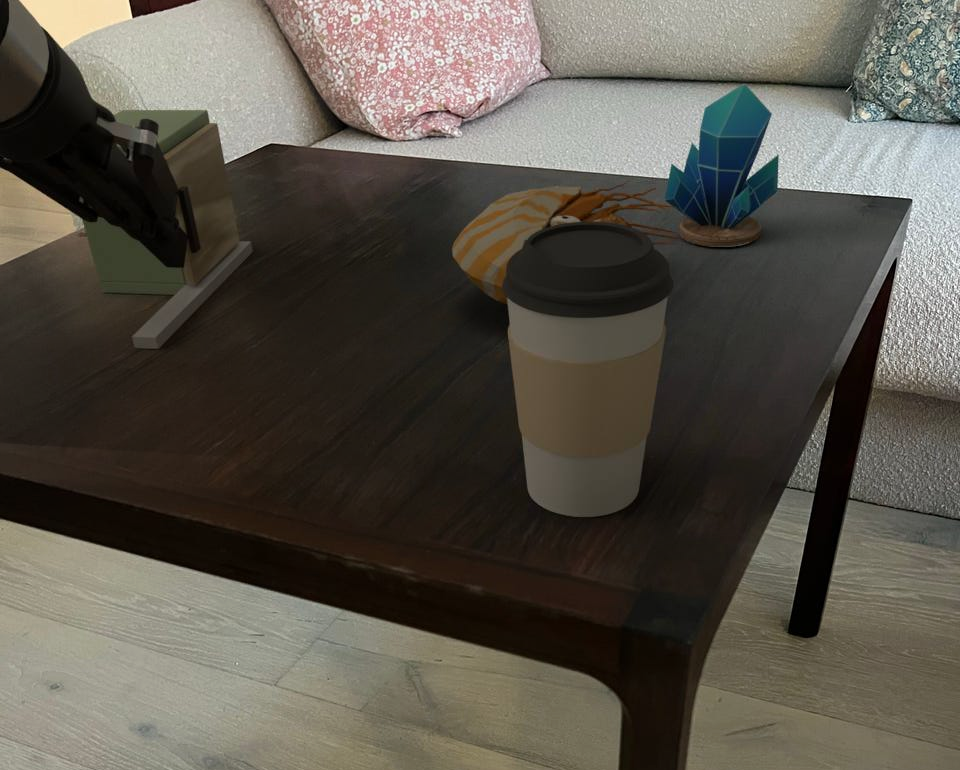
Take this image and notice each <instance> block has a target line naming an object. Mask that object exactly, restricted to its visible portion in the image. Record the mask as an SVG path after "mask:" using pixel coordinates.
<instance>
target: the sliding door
mask: <svg viewBox="0 0 960 770" xmlns="http://www.w3.org/2000/svg"><path fill="white" fill-rule="evenodd" d="M163 156H164V158H165V160H166V162H167V164H168V167H169V169H170V171H171V173H172V176H173V178H174V180H175V182H176V185H177V187H178V189H179V193H178V200H177V208H176V215H175V217H176V218H177V219H178V220H179V227H180V228H181V229H182V230H183V231H184V232H185V233H186V234H187V235H188V241H187V248H186V256H185V263H184V268H183V271H184V275H185V280H186V284H189V285H195V284H196V283H197V282H198V281H199V280H200V279H201V278H202V277H203V276H205V275H206V274H207V273H208V272H209V271H210V270H211V269H212V268H213V267H214V266H215V265H216V264H217V263H218V262H219V261H220V260H221V259H222V258H223V257H224V256H225V255H226V254H227V253H228V252H229V251H230V250H231V249H232V248H233V247H234V246H235V245H236V244H237V243H238V242H239V241H240V236H239V231H238V225H237V221H236V215H235V209H234V204H233V199H232V193H231V189H230V183H229V179H228V172H227V168H226V161H225V158H224V151H223V146H222V141H221V137H220V132H219V125H218V123H217V122H209V123H208V124H207V125H206V126H204V127H203V128H201V129H200V130H198V131H197V132H196V133H194V134H193V135H191V136H190V137H189V138H187V139H186V140H184V141H183V142H181V143H180V144H179V145H177V146H176V147H174V148H173V149H171V150H170V151H169V152H167V153H166V154H164V155H163Z"/></svg>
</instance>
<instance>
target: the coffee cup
mask: <svg viewBox="0 0 960 770" xmlns="http://www.w3.org/2000/svg"><path fill="white" fill-rule="evenodd" d="M641 231H642V230H639V229H637V228H634V227H633V226H632V227H629V226H625V225H620V224H615V223H607V222H572V223H564V224H559V225H554V226H550V227H547V228H544V229H542V230H539V231H537V232H535V233H534V234H532V235H531V236H530V237H529V238H528V239H527V240H526V239H525V241H524V244H523V247H522V249H520V250H519V251H517V252H516V253H515V254H514V255H513V256H512V257H511V258H510V260H509V261H508V263H507V266H506V277H505V279H504V280H503V283H502V290H503V292H504V294H505V296H506V297H507V302H508V305H507V311H508V319H509V325H508V328H507V338H508V345H509V355H510V363H511V372H512V379H513V389H514V396H515V405H516V413H517V420H518V429H519V431H520V434H521V438H522V440H521V441H522V449H523V459H524V466H525V467H524V470H525V477H526V486H527V487H526V488H527V492H528V494H529V496H530V498H531V499H532V500H533V501H534V503H536V504H537V505H538V506H540V507H542V508H543V509H545V510H547V511H549V512H552V513H554V514H559V515H562V516H566V517H574V518H593V517H594V518H595V517H601V516H606V515H610V514H614V513H617V512H619V511H621V510H623V509H625V508H626V507H628V506H629V505H631V504H632V503H633V502H634V501H635V500H636V498H637V497H638V495H639V490H640V484H641V478H642V472H643V466H644V465H643V464H644V457H645V451H646V444H647V437H648V435H649V433H650V431H651V427H652V426H651V425H652V420H653V415H654V414H653V413H654V407H655V401H656V395H657V389H658V384H659V377H660V371H661V365H662V357H663V352H664V346H665V339H666V334H667V333H666V332H667V326H666V324H665V319H666V318H665V317H666V310H667V305H668V298H669V295H670V294H671V293H672V292H673V290H674V286H675V281H674V278H673V275H672V274H671V272H670V264H669V262H668V259H667V258H666V257H665V256H664V255H663V254H662V253H661V252H660V251H659V250H658V249H656V248H655V246H654V244H652V242H653V241H652V239H651V238H650V237H649V235H647V234H645V233H643V232H641Z"/></svg>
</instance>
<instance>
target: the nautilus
mask: <svg viewBox="0 0 960 770" xmlns="http://www.w3.org/2000/svg"><path fill="white" fill-rule="evenodd" d="M630 181H631V180H629V179H628V180H626V181H624V182H623V183H622V184H618V185H616V186H613V187H610V188H599V189H596V190H592V191H587V192H582V189H581V186H560V185H553V186H550V187H546V188H532V189H526V190H520V191H516V192H511V193H507V194H506V195H503V196H502V197H500V198H499V199H497V200H495V201H493V202H491V203H490V204H489V205H488V206H487V207H486V208H485V209H484V210H483V211H482V212H481V213H480V214H478V216H476V217H475V218H473V220H471V221H470V222H469V223H468V224H467V225H466V226H465V227H464V228H463V229H462V231H461V232H460V233H459V234H458V236H457V238H456V239H455V241H454V242H453V245H452V247H451V251H452V257H453V259H454V260H455V261H456V263H457V265H459V267H460V268H461V269H462V271H463V272H464V274H465V275H466V277H467V278H468V280H469V281H470V282H471V283H472V284H473V285H475V286H476V287H477V288H478V289H479V290H481V291H482V292H483V293H484V294H485V295H486V296H489V297H490V298H492V299H494V300H495V301H497V302H500V303H502V304H504V305H507V306H508V302H507V297H506V296H505V294H504V292H503V290H502V283H503V280H504V279H505V277H506V266H507V263H508V261H509V260H510V258H511V257H512V256H513V255H514V254H515V253H516V252H517V251H519V250H520V249H522V247H523V244H524V241H525V239H526V240H527V239H528V238H529V237H530V236H531V235H532V234H534V233H535V232H537V231H539V230H542V229H544V228H547V227H550V226H554V225H559V224H564V223H572V222H607V223H615V224H620V225H625V226H629V227H632V228H633V227H638V228H643V229H648V230H655V231H660V232H666V233H671V234H672V233H673V234H677V232H676V231H674V230H670V229H665V228H661V227H656V226H649V225H645V224H640V223H635V222H631V223H629V222H628V221H626V220H625V219H624V218H622V216H619V215H617V214H616V213H618V212H619V211H625V210H644V211H652V212H656V213H659V214H661V213H662V212H661V211H660V210H658V209H654V208H653V209H652V208H648V207H657V208H660V209H662V210H664V211H665V212H667V213H669V211H668V209H666V208H672V209H675V210H677V208H676V207H674V206H672V205H670V204H669V205H668V204H662V203H656V202H654V201H651V200H648V199H645V198H643V197H640V196H644V195H646V194H648V193H650V192H651V191H654V190H656V189H657V188H656V187H653V188H650V189H648V190H646V191H644V192H641V193H634V194H629V193H626V192H612V193H610V194H605V193H604V194H603V193H600V192H602V191H605V192H609V191H612V190H615V189H617V188H619V187H623V186H624V185H625V184H627V183H628V182H630ZM616 196H618V197H619V196H620V197H621V198H617V197H616ZM629 199H634V200H638V201H640V202H645V203H630V204H628V205H624V206H622V205H620V203H616V204H613V205H610V206H607V207H605V208H603V209H601V208H602V207H603V206H604V204H605V203H607V202H613V201H614V202H622V201H626V200H629ZM599 209H601V210H599ZM596 210H598V211H596ZM594 211H595V212H594ZM640 231H641V232H643V233H645V234H646V235H647V236H655V237H661V238H668V239H669V238H670V239H675V240H682V237H678V236H675V235H674V236H673V235H669V234H663V233H656V232H650V231H645V230H640ZM677 243H678V242H677ZM677 243H676V242H669V241H667V242H666V241H652V244H653V245H677Z"/></svg>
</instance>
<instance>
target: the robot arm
mask: <svg viewBox="0 0 960 770" xmlns="http://www.w3.org/2000/svg"><path fill="white" fill-rule="evenodd" d="M114 115H115V114H113V112H112V111H111V109H108V108H107V107H106V106H104V105H102V104H100V103H98V102H97V101H96V100H94V99H93V97H92V95H91V93H90V91H89V87H88V86H87V83H86V81H85V79H84V76H83V74H82V72H81V70H80V69H79V67H78V65H77V64H76V63H75V62H74V60H73V59H72V58H71V57H70V55H68V54H67V53H66V51H65V49H64V48H63V47H61V45H60V44H59V42H57V41H56V40H55V39H54V37H53V36H52V35H51V33H49V31H47V30H46V29H45V28H44V27H43V26H42V25H41V24H40V23H39V22H38V21H37V19H36V18H35V17H34V15H33V14H32V13H31V12H30V11H29V10H28V9H27V7H26V6H25V4H23V2H22V1H21V0H0V169H3V170H4V171H7V172H9V173H10V174H12V175H13V176H15V177H17V178H18V179H20V180H21V181H23V182H24V183H26V184H27V185H29V186H30V187H32V188H34V189H35V190H36V191H38V192H40V193H41V194H43V195H44V196H45V197H48V198H49V199H50V200H52V201H54V202H55V203H57V204H58V205H60V206H61V207H63V208H65V209H66V210H67V211H69V212H71V213H72V214H74V216H75V215H76V216H77V217H78V218H80V219H81V220H82V219H83V220H85V221H88V222H91V223H92V222H97V221H98V217H102V218H104V219H105V220H106V221H107V222H108V223H109V224H110V225H113V226H116V227H121V228H122V229H123V230H124V231H125V232H126V233H127V234H128V235H129V236H130V237H131V238H133V239H135V240H138V241H139V242H141V243H142V244H143V245H144V246H145V247H146V248H147V249H148V250H149V251H150V252H151V253H152V254H153V255H154V256H155V257H156V258H157V259H158V260H159V261H160V262H162V263H163V264H164V265H165V266H166V267H170V268H184V263H185V256H186V248H187V241H188V235H187V234H186V233H185V232H184V231H183V230H182V229H181V228H180V227H179V220H178V219H177V218H176V217H175V215H176V208H177V200H178V193H179V189H178V187H177V185H176V182H175V180H174V178H173V176H172V173H171V171H170V169H169V167H168V164H167V162H166V160H165V158H164V156H163V153H162V151H161V149H160V147H159V144H158V142H157V137H158V130H159V125H158V124H157V123H156V122H155V121H153V120H150V119H141V120H140V123H139V127H138V126H135V125H132V126H128V125H125V124H122V123H119V122H116V119H115V116H114ZM117 144H118V145H120V146H121V147H122V149H123V151H124V152H125V153H127V155H126V156H125V155H124V154H123V153H122V152H121V151H120V149H119V148H118V147H117ZM80 197H81V198H82V199H83V202H80V201H79V199H80Z"/></svg>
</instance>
